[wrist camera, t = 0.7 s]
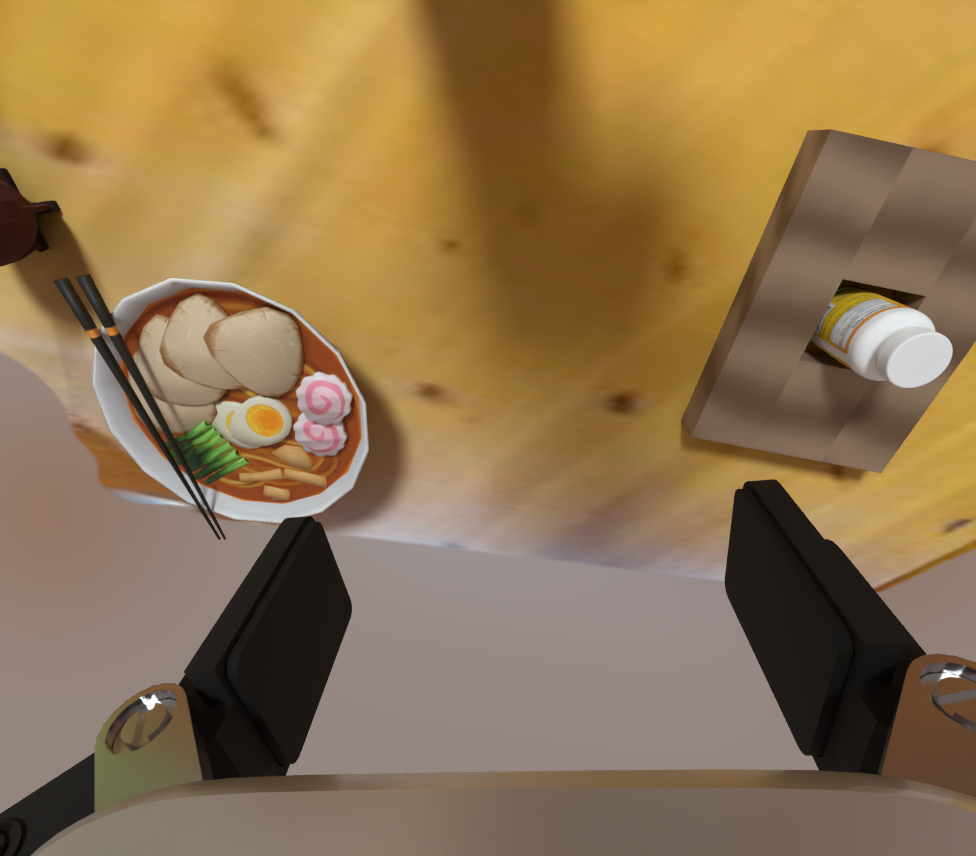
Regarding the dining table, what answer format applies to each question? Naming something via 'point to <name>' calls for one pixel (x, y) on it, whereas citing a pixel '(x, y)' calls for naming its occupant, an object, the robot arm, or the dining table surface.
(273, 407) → the ramen bowl
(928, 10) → the dining table surface
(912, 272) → the pocket board
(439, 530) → the dining table surface
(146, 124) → the dining table surface
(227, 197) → the dining table surface
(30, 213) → the mate gourd
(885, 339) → the supplement bottle
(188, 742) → the robot arm
